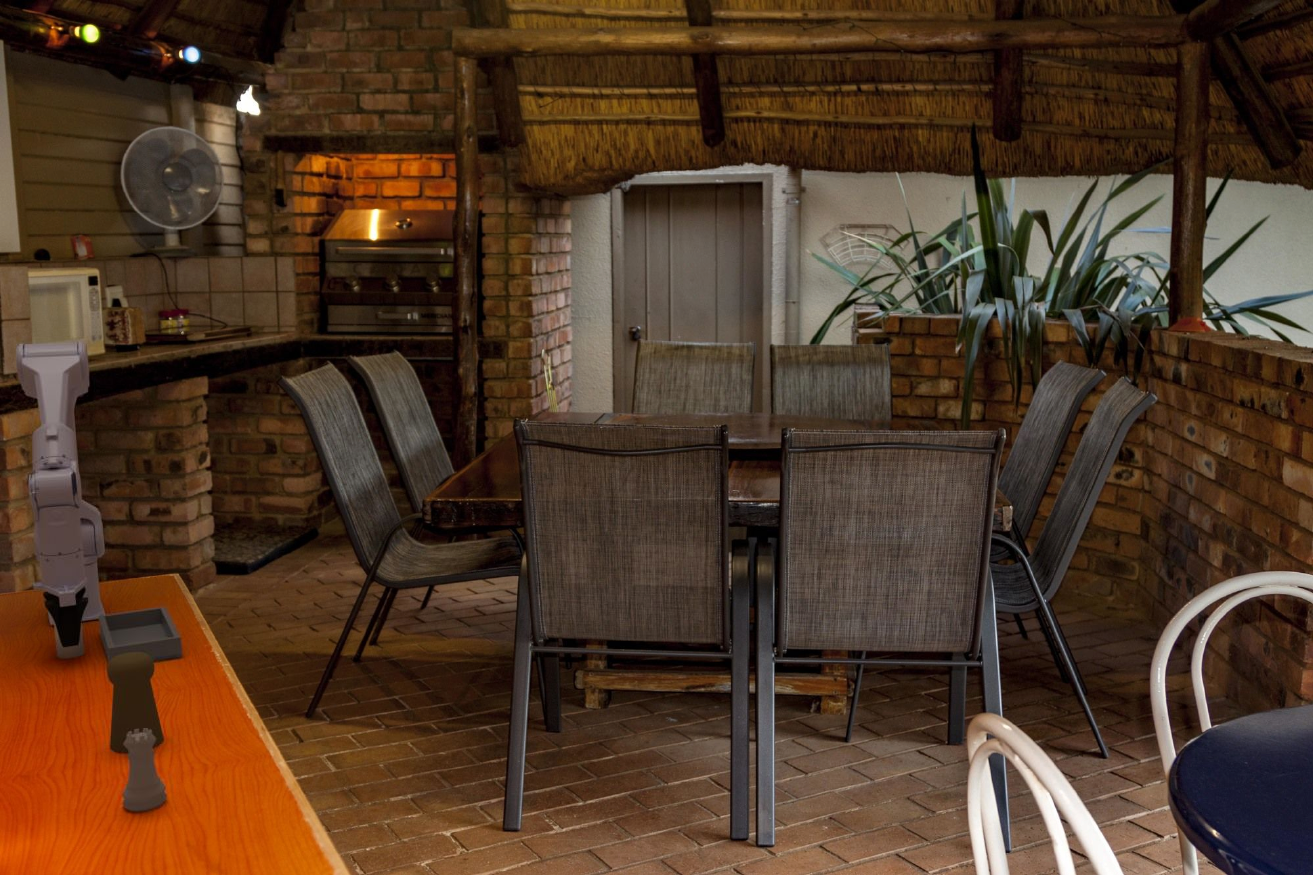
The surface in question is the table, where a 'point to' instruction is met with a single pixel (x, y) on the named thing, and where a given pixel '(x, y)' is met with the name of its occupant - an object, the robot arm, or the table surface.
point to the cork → (132, 699)
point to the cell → (69, 651)
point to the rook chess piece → (142, 774)
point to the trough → (140, 634)
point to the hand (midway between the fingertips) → (69, 641)
